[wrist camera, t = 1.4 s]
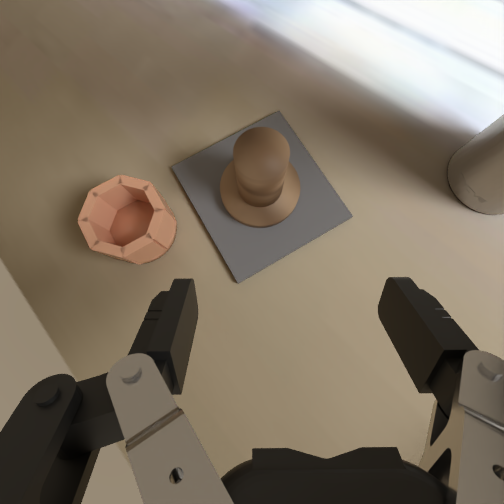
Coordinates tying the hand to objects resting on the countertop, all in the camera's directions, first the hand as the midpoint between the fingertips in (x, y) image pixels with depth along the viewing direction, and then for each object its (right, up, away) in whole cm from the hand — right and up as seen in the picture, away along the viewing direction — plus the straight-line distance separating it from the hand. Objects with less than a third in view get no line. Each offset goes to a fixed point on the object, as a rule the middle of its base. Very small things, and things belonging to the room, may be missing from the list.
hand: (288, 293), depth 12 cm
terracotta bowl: (-14, +4, +20) cm, 25 cm away
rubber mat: (-1, +9, +21) cm, 23 cm away
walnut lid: (-1, +9, +20) cm, 22 cm away
